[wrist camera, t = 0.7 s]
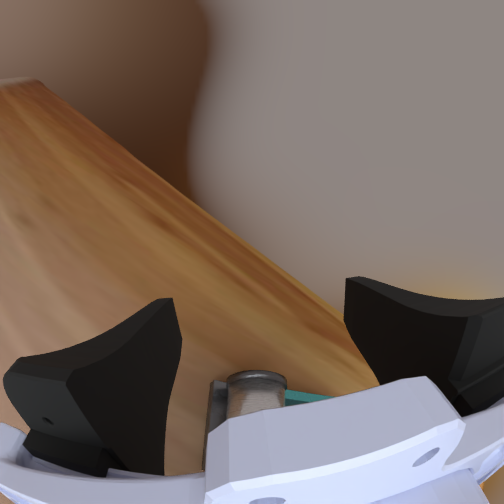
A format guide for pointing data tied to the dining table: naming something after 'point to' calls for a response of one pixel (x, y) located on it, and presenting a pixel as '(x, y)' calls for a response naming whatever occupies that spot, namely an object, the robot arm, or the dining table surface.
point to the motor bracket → (249, 397)
